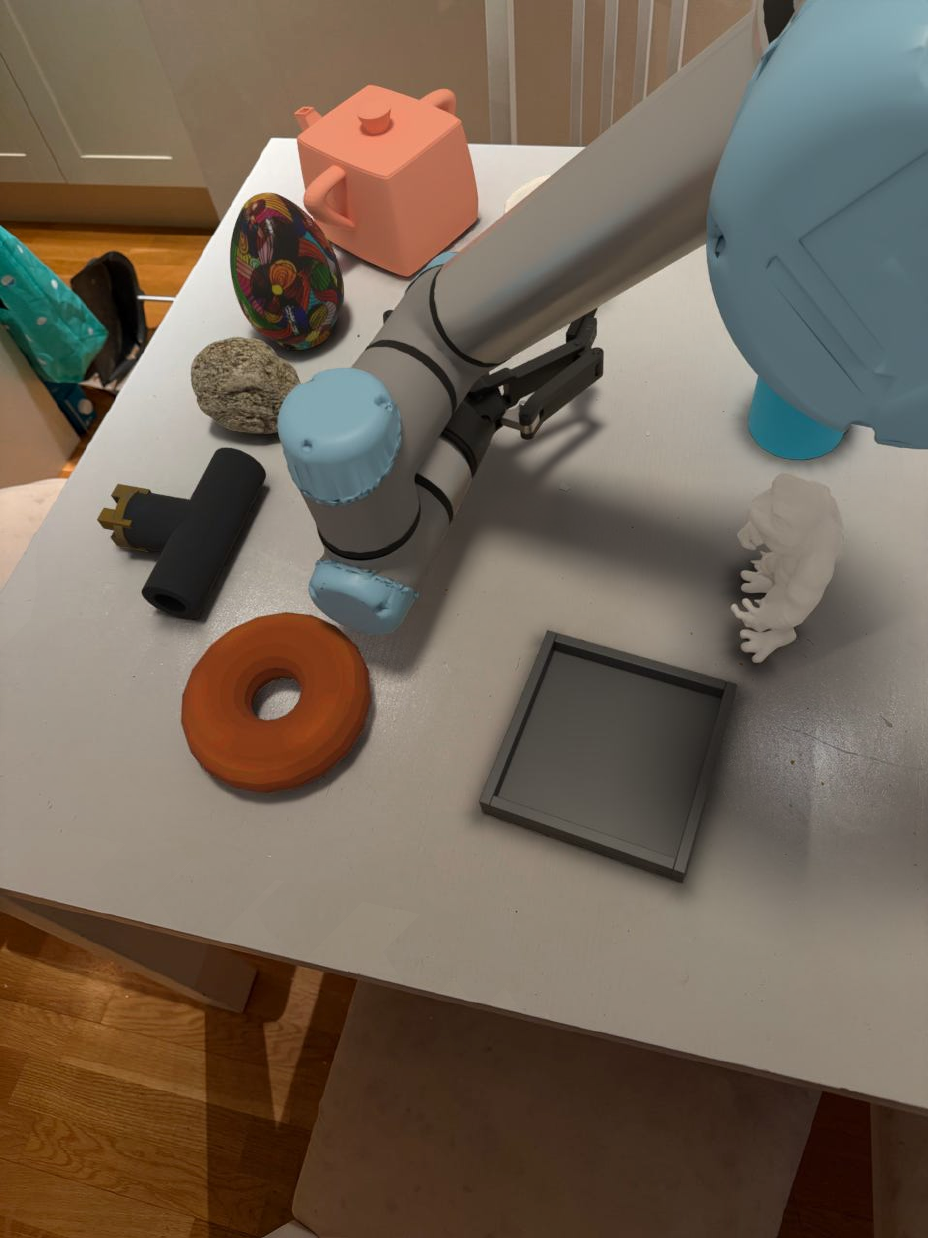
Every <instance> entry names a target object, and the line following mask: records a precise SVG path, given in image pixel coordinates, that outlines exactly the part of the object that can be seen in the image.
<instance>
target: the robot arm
mask: <svg viewBox="0 0 928 1238" xmlns="http://www.w3.org/2000/svg"><path fill="white" fill-rule="evenodd" d="M551 175H552V176H550V177H549V178H548V179H547V180H545V181H544V182H543V183H542V184H541V185H539V186H538V187H537V188H536V189H535V190H533V191H532V192H531V193H530V194H528V195H527V196H526V197H525V198H524V199H522V200H521V201H520V202H519V203H518V204H516V205H515V206H514V207H513V208H512V209H510V210H509V211H508V212H507V213H505V214H504V215H503V214H502V216H501V217H499V218H498V219H497V220H496V221H494V222H493V223H492V224H491V225H490V226H488V227H487V228H486V229H485V230H483V231H482V232H481V233H480V234H479V235H477V237H475V238H474V239H473V240H472V241H470V242H469V243H468V244H467V245H465V246H463V248H462V249H461V250H459V251H448V250H447V251H445V252H442V253H440V254H438V255H436V256H434V257H433V258H432V259H431V260H430V261H429V262H428V264H427V265H426V267H425V268H423V269H422V270H421V271H420V272H419V273H418V274H417V275H416V276H415V278H414V279H413V280H411V282H410V283H409V284H408V286H407V287H406V289H405V291H404V294H403V297H402V298H401V299H400V300H399V302H398V303H397V305H396V306H395V307H394V309H387V310H385V311H384V312H383V313H382V323H383V325H382V326H381V328H379V330H378V332H377V333H376V334H375V335H374V337H373V339H372V340H371V341H370V342H369V344H368V345H367V346H366V348H365V349H364V350H363V352H361V354H360V355H359V356H358V357H357V359H356V360H355V362H354V363H353V365H352V366H350V367H335V368H328V369H324V370H321V371H318V372H316V373H314V374H313V376H312V377H311V379H310V380H308V381H306V382H305V383H302V382H300V384H298V385H296V386H295V387H294V388H293V389H292V390H291V391H290V393H289V394H288V395H287V396H286V398H285V400H284V402H283V403H282V406H281V408H280V411H279V415H278V423H277V425H278V432H277V433H278V434H277V435H278V437H279V440H280V441H279V442H280V444H281V447H282V450H283V456H284V459H285V461H286V467H287V470H288V472H289V475H290V477H291V480H292V482H293V483H294V485H295V486H296V488H297V490H299V492H300V494H301V496H302V499H303V501H304V503H305V504H306V507H307V508H308V510H309V513H310V514H311V517H312V518H313V520H314V523H315V525H316V533H317V535H318V537H319V540H320V542H321V545H322V547H323V548H324V549H323V554H322V555H321V557H320V558H319V559H317V561H316V562H315V564H314V566H315V567H314V570H313V572H312V574H311V577H310V579H309V583H308V594H309V597H310V599H311V601H312V603H313V604H314V605H315V607H316V608H317V609H318V610H319V611H320V612H321V613H323V615H325V616H326V617H327V618H329V619H330V620H331V621H333V622H335V623H337V624H339V625H341V626H343V627H345V628H346V629H348V630H352V631H355V632H358V633H362V634H365V635H369V636H384V635H388V634H391V633H393V632H395V631H396V630H397V629H398V628H399V627H400V626H401V625H402V623H403V621H404V619H405V617H406V616H407V614H408V613H409V610H410V609H411V607H412V605H413V604H414V602H415V601H416V600H418V598H419V597H420V593H419V592H420V590H421V588H422V586H423V584H424V582H425V579H426V578H427V575H428V573H429V571H430V569H431V567H432V565H433V563H434V561H435V559H436V556H437V554H438V553H439V550H440V547H441V546H442V543H443V541H444V539H445V537H446V536H447V533H448V532H449V531H448V530H449V529H450V526H451V524H452V522H453V521H454V518H455V516H456V514H457V513H458V511H459V509H460V506H461V504H462V502H463V500H464V498H465V496H466V494H467V493H468V490H469V489H470V485H471V483H472V479H473V478H474V477H475V476H476V474H477V471H478V469H479V467H480V465H481V464H482V461H483V459H484V457H485V455H486V453H487V451H488V449H489V447H490V445H491V442H492V439H493V437H494V435H495V434H496V432H497V431H499V430H500V429H501V428H503V427H507V428H509V429H512V430H516V431H519V434H520V438H521V439H522V440H523V441H531V440H533V439H534V438H535V437H536V435H537V433H538V431H539V430H540V429H541V427H542V425H543V424H544V423H545V422H546V421H547V420H548V419H550V418H551V417H552V416H554V415H555V414H556V413H558V412H559V411H560V410H561V409H563V408H564V407H565V406H567V405H568V404H569V403H570V402H572V401H573V400H575V398H577V397H578V396H579V395H581V394H582V393H583V392H584V391H586V390H587V389H588V388H590V387H591V386H592V385H593V384H595V383H596V382H598V381H599V380H600V379H601V378H602V377H603V376H604V362H605V361H604V360H605V359H604V357H605V351H604V349H603V348H602V347H599V346H598V347H597V346H595V347H593V345H594V343H595V340H596V338H597V336H598V319H597V318H598V317H595V316H596V314H597V311H598V308H599V307H601V306H602V305H603V304H606V303H607V302H609V301H610V300H612V299H614V298H616V297H617V296H619V295H621V294H623V293H624V292H626V291H628V290H629V289H631V288H633V287H634V286H636V285H638V284H639V283H641V282H643V281H645V280H647V279H648V278H651V276H652V277H653V275H655V274H657V273H659V272H660V271H662V270H664V269H666V268H668V267H669V266H672V264H674V263H675V262H678V261H679V260H681V259H682V258H684V257H686V256H688V255H689V254H692V253H693V252H694V251H696V250H698V249H700V248H701V247H703V246H705V254H706V264H707V270H708V277H709V281H710V286H711V291H712V295H713V299H714V302H715V304H716V307H717V310H718V313H719V315H720V318H721V320H722V322H723V325H724V327H725V329H726V331H727V333H728V335H729V336H730V338H731V341H732V342H733V343H734V345H735V347H736V349H737V350H738V351H739V354H741V356H742V357H743V359H744V360H745V362H746V363H747V364H748V366H749V367H750V368H751V369H752V371H753V372H754V373H755V374H756V375H757V377H758V376H759V377H760V378H761V379H762V380H763V381H764V382H765V383H766V384H767V385H768V386H769V387H770V388H771V389H772V390H773V391H774V392H775V393H776V394H778V395H779V396H780V397H781V398H782V399H784V400H785V401H786V402H787V403H789V404H790V405H791V406H793V407H794V408H796V409H797V410H799V411H800V412H802V413H803V414H805V415H807V416H808V417H810V418H812V419H814V420H815V421H817V422H819V423H821V424H823V425H825V426H827V427H829V428H831V429H834V430H837V431H840V432H844V433H845V432H847V431H848V430H849V429H850V427H851V426H852V425H855V426H861V427H864V428H865V427H866V428H869V429H872V431H873V432H874V435H873V439H874V442H875V443H876V444H877V445H881V446H888V447H892V448H893V447H894V448H900V449H901V448H902V449H911V450H928V0H756V1H755V7H754V8H753V9H752V10H750V11H749V12H748V13H747V14H745V15H744V16H743V17H741V19H739V20H738V21H737V22H736V23H734V24H733V25H732V26H731V27H730V28H729V29H727V30H725V32H724V33H722V34H721V35H720V36H718V38H716V39H715V40H713V42H711V43H710V44H708V46H707V47H705V48H704V49H703V50H702V51H700V52H699V53H698V54H697V55H696V56H694V57H693V58H692V59H691V60H690V61H689V62H687V63H686V64H685V65H684V66H682V67H681V68H679V69H678V70H677V71H676V72H675V73H674V74H672V76H670V77H669V78H668V79H666V80H665V81H664V82H663V83H662V84H660V85H659V86H658V87H657V88H656V89H655V90H653V91H652V92H651V93H649V95H647V96H646V97H645V98H644V99H643V100H641V101H640V102H639V103H637V104H636V105H635V106H633V108H631V109H630V110H629V111H628V112H626V113H625V114H624V115H623V116H622V117H621V118H619V119H618V120H616V121H615V122H614V123H613V124H611V126H610V127H608V128H607V129H606V130H605V131H603V132H602V133H601V134H599V136H598V137H596V138H595V139H594V140H593V141H591V142H590V143H589V144H588V145H587V146H585V147H584V148H583V149H582V150H580V151H579V152H578V153H577V154H576V155H574V156H573V157H572V158H571V159H569V160H568V161H567V162H566V163H565V164H563V166H561V167H560V168H559V169H558V170H556V171H555V172H554V173H553V174H551ZM568 325H569V326H568ZM566 326H568V328H567V330H566V332H565V343H563V344H562V345H559V346H557V347H555V348H552V349H551V350H549V351H546V352H544V353H542V354H540V355H538V356H536V357H534V358H531V359H529V360H527V361H525V362H523V363H521V364H519V365H517V366H515V367H512V368H509V367H503V368H500V369H499V370H496V371H494V370H495V369H496V368H498V367H500V366H501V365H503V364H505V363H506V362H508V361H509V360H511V359H512V358H514V357H515V356H517V355H518V354H520V353H522V352H524V351H526V350H527V349H528V348H531V347H532V346H534V345H536V344H537V343H539V342H541V341H543V340H544V339H546V338H547V337H549V336H551V335H553V334H555V333H556V332H557V331H559V330H561V329H563V328H564V327H566ZM492 370H493V372H492V373H490V372H491V371H492ZM501 387H502V390H503V393H501V390H500V388H501ZM529 395H530V396H529ZM527 396H529V397H528V398H527V399H526V401H525V400H522V399H524V398H525V397H527ZM517 404H518V405H517ZM513 407H514V408H513Z"/></svg>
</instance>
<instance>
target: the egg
mask: <svg viewBox="0 0 928 1238" xmlns="http://www.w3.org/2000/svg"><path fill="white" fill-rule="evenodd" d="M242 205H243V206H242V207H241V209H240V211H239V212H238V216H237V218H236V220H235V223H234V226H233V230H232V235H231V240H230V248H229V267H230V276H231V282H232V286H233V290H234V294H235V298H236V300H237V302H238V305H239V307H240V309H241V311H242V313H243V315H244V316H245V318H246V320H247V321H248V322H249V323H250V325H251V326H252V327H253V328H254V329H255V330H256V331H258V333H260V334H261V335H262V336H264V337H266V338H268V339H270V340H271V341H274V342H276V343H277V344H278V345H279V346H281V347H283V348H284V349H287V350H289V351H291V350H293V351H302V350H308V349H310V348H313V347H315V346H318V345H321V344H322V343H323V342H324V341H326V340H328V338H329V336H330V335H331V332H333V328H334V325H335V323H336V321H337V320H338V318H339V316H340V314H341V311H342V308H343V305H344V300H345V299H344V298H345V284H344V283H345V282H344V278H343V273H342V269H341V266H340V262H339V260H338V257H337V255H336V253H335V251H334V248H333V246H332V245H331V243H330V240H328V239H327V238H326V236H325V234H324V233H323V232H322V230H321V229H320V227H319V226H318V225H317V224H316V223H315V221H314V219H313V217H312V216H311V215H310V214H309V213H308V212H306V210H303V208H301V207H300V206H298V204H296V203H294V202H293V201H292V200H290V199H289V198H287V197H284V196H283V195H280V194H278V193H275V192H261V193H258V194H254V195H253V196H251V197H250V198H248V199H247V201H245V203H244V204H242Z"/></svg>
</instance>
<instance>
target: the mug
mask: <svg viewBox="0 0 928 1238" xmlns="http://www.w3.org/2000/svg"><path fill="white" fill-rule="evenodd" d="M748 430H749V432H750V434H751V437H752V439H753V440H754V441H755V442H756V443H757V444H758V446H760V448H762V449H763V450H765V451H766V452H768V453H770V454H772V455H774V456H777V457H780V458H784V459H788V460H801V461H802V460H803V461H804V460H805V461H806V460H811V459H816V458H819V457H822V456H825V455H826V454H828V453H830V452H832V451H833V450H834V449H835V448H836V447H838V445H839V444H840V443H841V442H842V439H843V436H844V433H845V432H840V431H837V430H834V429H831V428H829V427H827V426H825V425H823V424H821V423H819V422H817V421H815V420H814V419H812V418H810V417H808V416H807V415H805V414H803V413H802V412H800V411H799V410H797V409H796V408H794V407H793V406H791V405H790V404H789V403H787V402H786V401H785V400H784V399H782V398H781V397H780V396H779V395H778V394H776V393H775V392H774V391H773V390H772V389H771V388H770V387H769V386H768V385H767V384H766V383H765V382H764V381H763V380H762V379H761V378H760V377H759V376H758V375H757V378H756V383H755V386H754V391H753V396H752V401H751V405H750V409H749V415H748Z"/></svg>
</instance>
